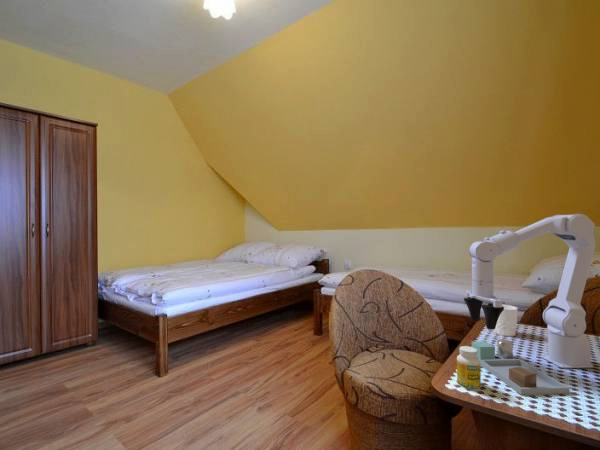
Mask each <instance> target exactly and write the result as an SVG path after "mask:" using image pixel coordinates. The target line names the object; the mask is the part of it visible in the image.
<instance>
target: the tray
mask: <svg viewBox="0 0 600 450" xmlns="http://www.w3.org/2000/svg"><path fill="white" fill-rule="evenodd" d="M479 360H480V359H479ZM480 364H481V367H482V368H484V369H485V370H486V371H487V372H489V373H490V374H491V375H493V376H494V377H496V378H497V379H498V380H500V381H501V382H502V383H504V384H505V385H507V386H508V387H509V388H511V389H512V390H513V391H515V392H516V393H517V394H519V395H520V396H530V395H531V396H533V395H534V396H537V395H539V396H540V395H570V387H569V386H567V385H565V384H564V383H563V382H561V381H559V380H558V379H556V378H553V376H550V375H548V374H546V373H545V372H543V371H541V370H539V369H538V368H537V367H534V366H532V365H531V364H530V363H528V362H526V361H524V360H522V359H521V358H512V359H506V358H500V359H496V358H495V359H494V360H480ZM520 366H521V367H523V368H525V369H528V370H530V371H532V372H534V373H536V387H525V388H521V387H520V386H518V385H517V384H516V383H514V382H513V381H511V380H510V379H509V368H514V367H520Z"/></svg>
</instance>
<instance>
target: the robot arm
mask: <svg viewBox="0 0 600 450" xmlns="http://www.w3.org/2000/svg"><path fill="white" fill-rule="evenodd" d="M595 227H596V224H595V223H594V222H593V221H592V219H591V218H589V216H588V215H585V214H584V213H574V214H555V215H552V216H548V217H544V218H542V219H541V220H538V221H537V222H535V223H531V224H529V225H528V226H525V227H523V228H521V229H519V230H516V231H515V232H514V231H513V230H500V231H499V232H498V234H495V235H493V236H490V237H484V238H483V241H480V240H479V241H478V240H477V241H475V242H473V243H471V245H470V247H469V249H468V250H467V252H468V254H469V256H470V257H471V289H465V296H466V297H463V301H464V302H465V305H466V307H467V309H468V312H469V316H470V321H472V322H480V319H481V309H482V311H483V314H484V318H485V327H486V330H495V327H496V324H497V321H498V318H499V316H500V314H501V313H502V311H503V310H504V307H502V304H503V300H501V299H500V298H497V296H496V295H494V292H495V291H494V290H495V289H494V260H496V258H497V256H499V255H503V254H505V253H508V252H510V251H512V250H515V249H517V248H519V247H520V245H521V243H522V242H524V241H527V240H529V239H530V240H531V239H533V238H537V237H538V236H541V235H544V234H547V233H551V234H553V235H554V236H556V237H558V238H559V239H560V240H562V241H563V242H564V243H565V244H566V245H567V246H568V252H567V256H566V260H565V263H564V267H563V272H562V275H561V279H560V282H559V286H558V290H557V294H556V297H554V298H553V299H551V300H550V301H549V302H548V305H547V307H546V308H545V309H544V310H543V312H542V319H543V321H544V323H545V324H546V325H547V354H541V355H540V357H541V358H542V359H544V360H546V361H548V362H550V363H551V364H554V365H555V366H558V367H559V368H561V369H580V368H583V369H584V368H585V369H586V368H587V369H588V368H594V365H593V364H592V362H591V361H592V360H591V359H592V358H591V357H592V356H591V354H592V353H591V350H592V347H591V342H590V339H589V338H588V337H587V335H586V334H584V333H585V331H586V330H587V321H586V315H587V312H586V311H585V309H584V307H583V306H582V305H581V303H582V299H583V294H584V291H585V287H586V285H587V279H588V276H589V272H590V267H591V265H592V261H593V257H594V254H595V250H596V239H595V235H594V230H595ZM483 303H486V304H483Z"/></svg>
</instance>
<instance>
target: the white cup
mask: <svg viewBox="0 0 600 450" xmlns="http://www.w3.org/2000/svg"><path fill="white" fill-rule="evenodd" d="M502 307H504V310H503V311H502V313H501V314H500V316H499V318H498V321H497V324H496V327H495V329H494V333H496V334H497V335H501V336H505V337H515V336H516V335H517V327H518V326H517V325H518V312H519V311H518V309H519V308H518V307H517V306H514V305H510V304H504V303H502Z"/></svg>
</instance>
